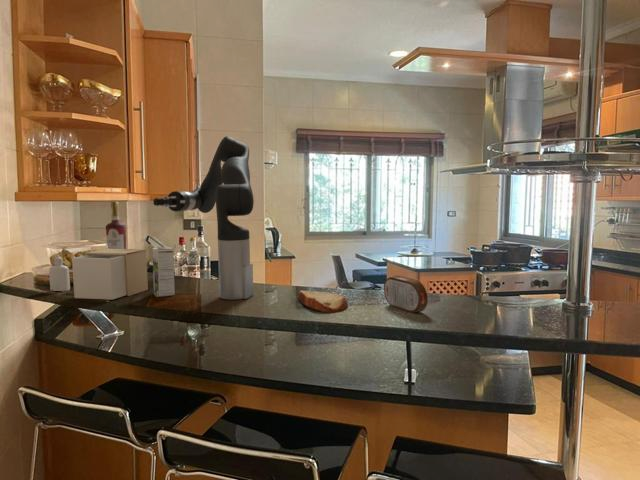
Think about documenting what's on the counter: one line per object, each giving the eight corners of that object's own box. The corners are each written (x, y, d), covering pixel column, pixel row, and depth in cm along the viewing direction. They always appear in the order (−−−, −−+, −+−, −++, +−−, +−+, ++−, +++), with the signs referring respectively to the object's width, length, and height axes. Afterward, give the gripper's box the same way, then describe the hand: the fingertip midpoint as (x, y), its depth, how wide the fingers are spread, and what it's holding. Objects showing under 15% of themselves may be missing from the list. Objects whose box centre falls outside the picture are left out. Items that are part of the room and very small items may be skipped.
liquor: (131, 272, 191) (127, 201, 188) (124, 275, 183) (121, 202, 180) (112, 272, 190) (108, 201, 187) (105, 276, 183) (101, 202, 180)
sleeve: (147, 289, 156) (145, 249, 154) (128, 296, 146) (126, 253, 145) (108, 288, 159) (106, 248, 158) (87, 294, 149) (85, 252, 148)
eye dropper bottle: (61, 288, 159) (59, 252, 157) (72, 290, 156) (69, 253, 155) (48, 291, 155) (46, 254, 154) (59, 293, 152) (56, 255, 151)
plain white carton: (146, 288, 156) (144, 251, 155) (112, 299, 140) (110, 258, 139) (111, 286, 159) (109, 251, 158) (74, 297, 143) (71, 257, 142)
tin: (428, 314, 120) (428, 281, 119) (418, 316, 118) (419, 282, 117) (391, 303, 133) (391, 273, 132) (381, 304, 131) (381, 274, 130)
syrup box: (153, 293, 149) (151, 247, 147) (173, 292, 151) (171, 246, 150) (155, 297, 144) (153, 249, 142) (175, 295, 146) (173, 248, 145)
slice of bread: (303, 296, 145) (303, 284, 144) (360, 300, 138) (360, 287, 137) (275, 310, 128) (275, 296, 128) (338, 315, 121) (338, 301, 121)
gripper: (165, 191, 183) (138, 191, 166) (197, 191, 180) (172, 191, 163) (166, 211, 184) (139, 213, 167) (197, 211, 181) (173, 213, 164)
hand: (155, 202), depth 165 cm, fingers closed
